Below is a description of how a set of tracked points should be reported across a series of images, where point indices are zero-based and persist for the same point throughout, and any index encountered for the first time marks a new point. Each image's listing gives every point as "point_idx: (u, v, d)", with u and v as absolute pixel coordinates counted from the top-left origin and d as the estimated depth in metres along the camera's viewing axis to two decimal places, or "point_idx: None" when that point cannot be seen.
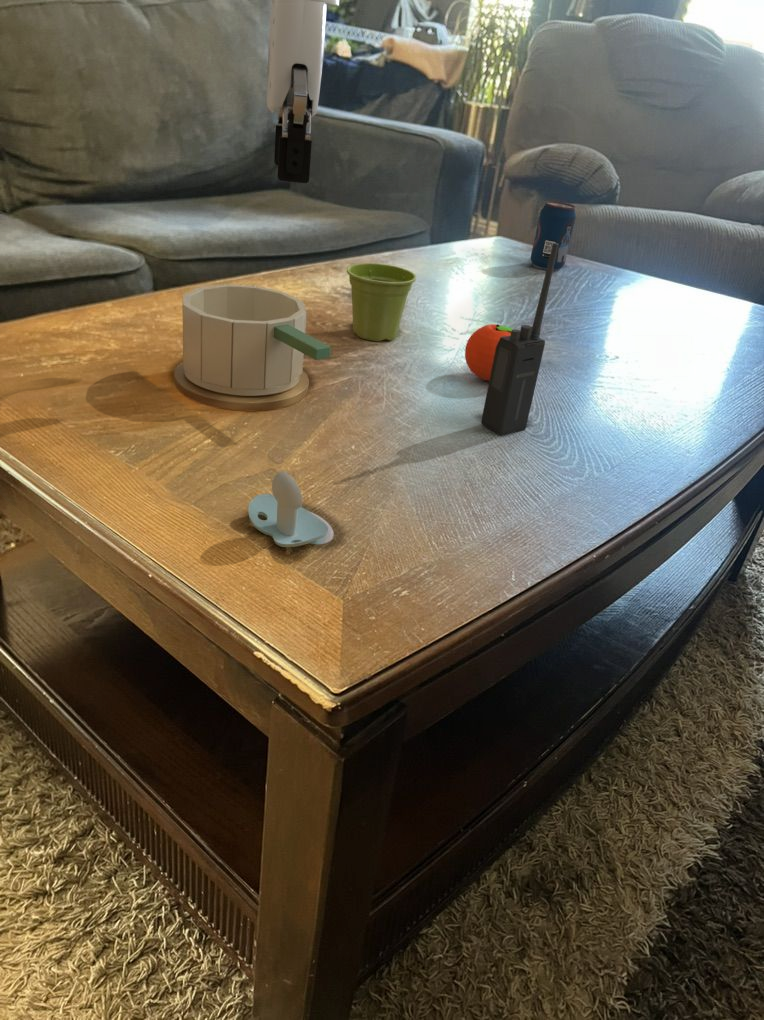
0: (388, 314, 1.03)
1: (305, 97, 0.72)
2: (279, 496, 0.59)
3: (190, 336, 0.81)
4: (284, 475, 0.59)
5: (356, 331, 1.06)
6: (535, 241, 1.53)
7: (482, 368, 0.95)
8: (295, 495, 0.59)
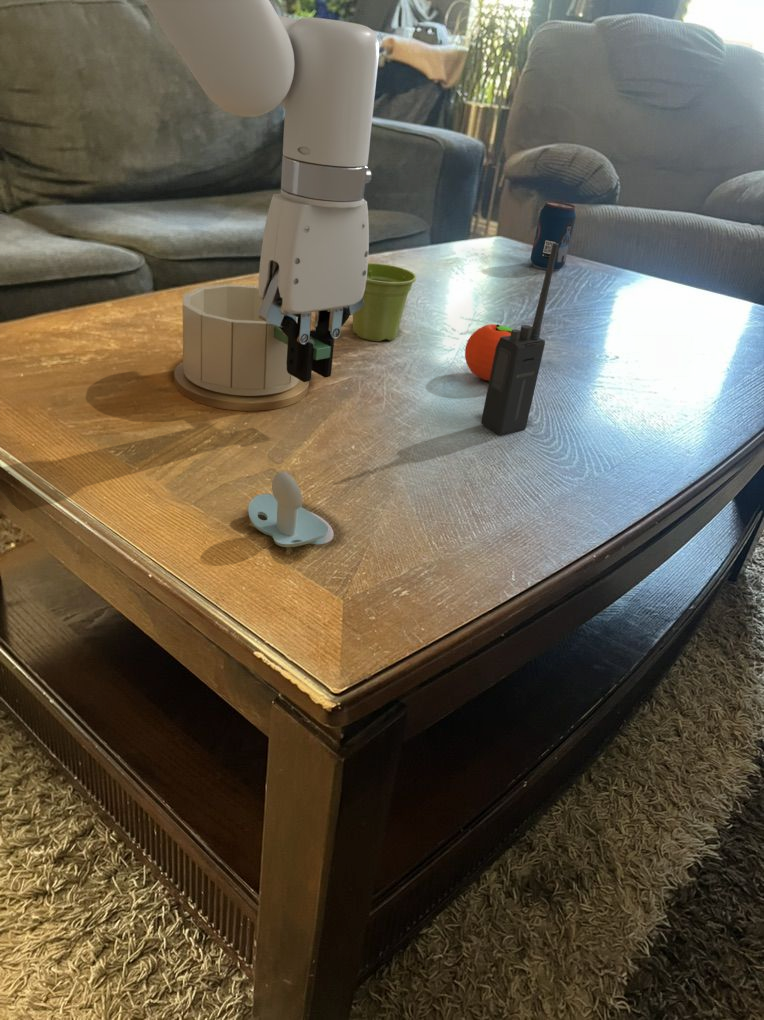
0: (388, 314, 1.03)
1: (266, 321, 0.72)
2: (279, 496, 0.59)
3: (190, 336, 0.81)
4: (284, 475, 0.59)
5: (356, 331, 1.06)
6: (535, 241, 1.53)
7: (482, 368, 0.95)
8: (295, 495, 0.59)
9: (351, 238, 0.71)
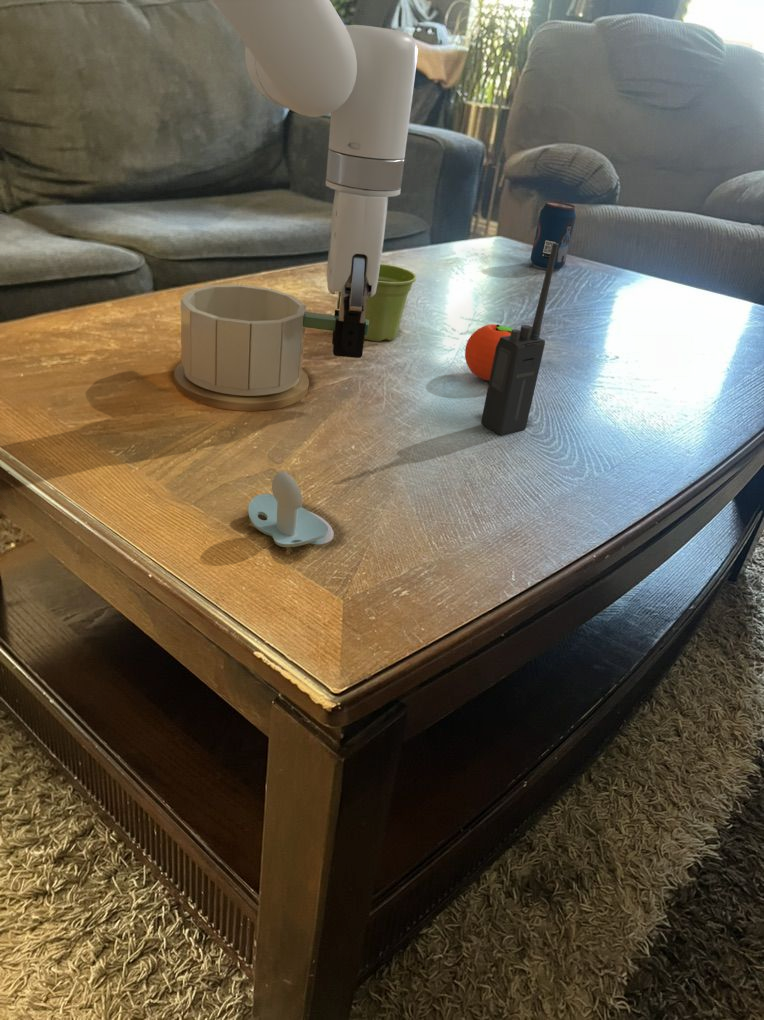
0: (388, 314, 1.03)
1: (360, 310, 0.78)
2: (279, 496, 0.59)
3: (230, 348, 0.80)
4: (284, 475, 0.59)
5: None
6: (535, 241, 1.53)
7: (482, 368, 0.95)
8: (295, 495, 0.59)
9: None
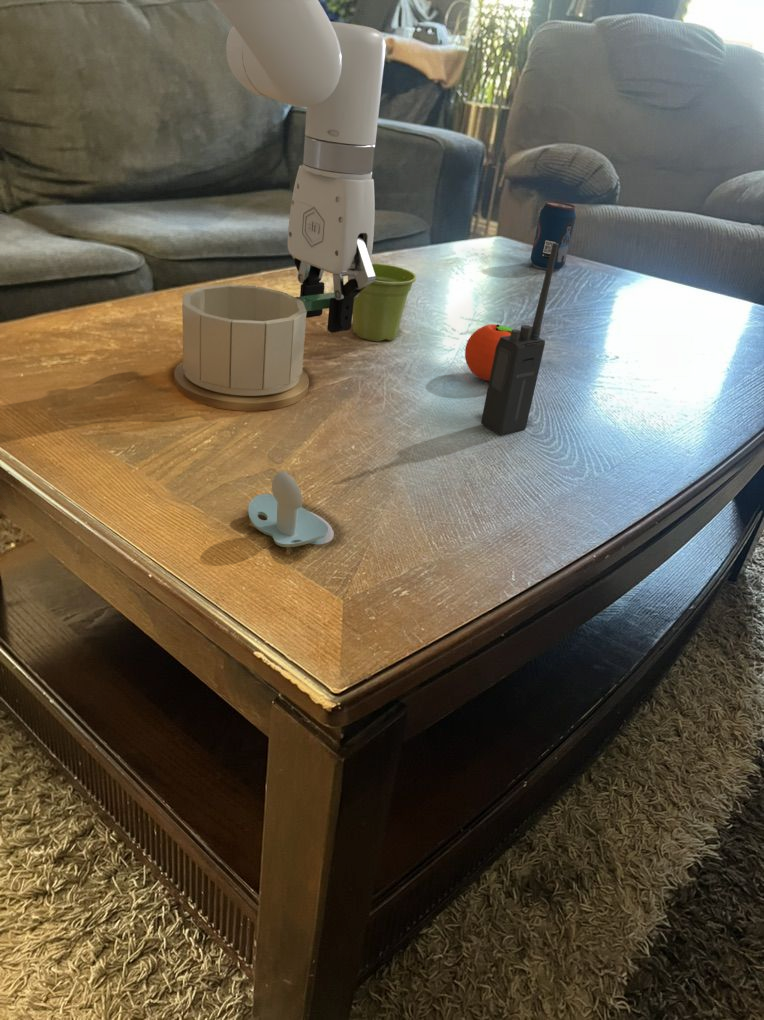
0: (388, 314, 1.03)
1: (374, 280, 0.85)
2: (279, 496, 0.59)
3: (276, 348, 0.81)
4: (284, 475, 0.59)
5: (356, 331, 1.06)
6: (535, 241, 1.53)
7: (482, 368, 0.95)
8: (295, 495, 0.59)
9: None
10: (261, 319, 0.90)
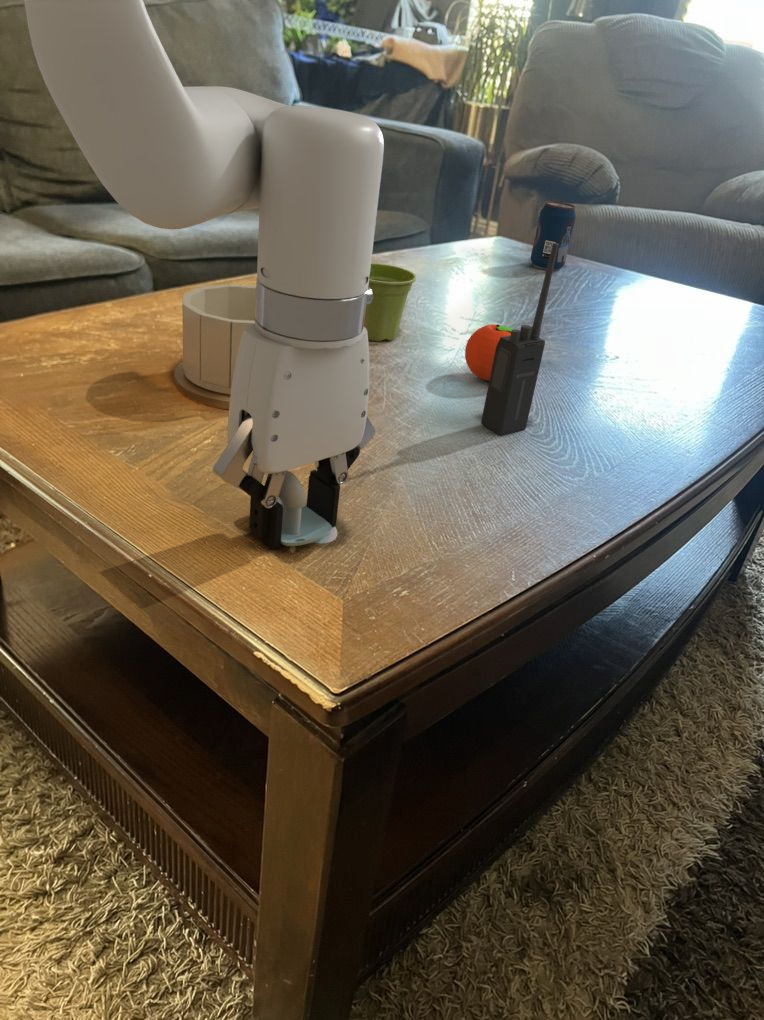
0: (388, 314, 1.03)
1: (221, 478, 0.54)
2: (283, 495, 0.60)
3: None
4: (288, 474, 0.59)
5: None
6: (535, 241, 1.53)
7: (482, 368, 0.95)
8: (299, 494, 0.59)
9: (347, 378, 0.55)
10: None
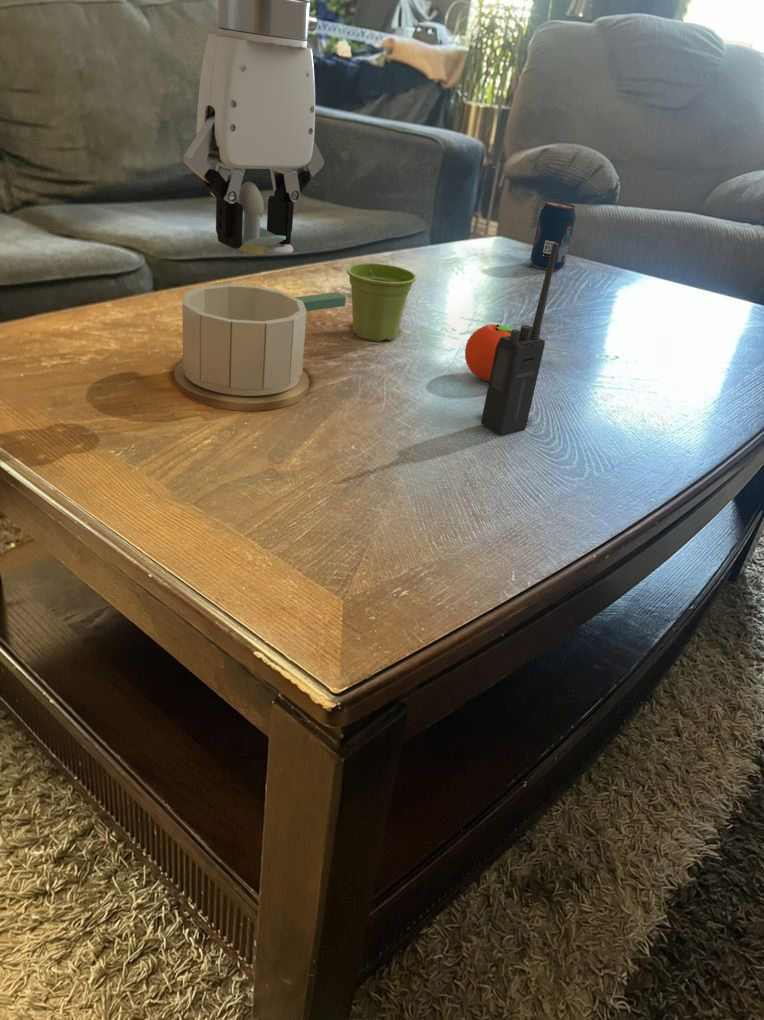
0: (388, 314, 1.03)
1: (189, 163, 0.66)
2: (244, 201, 0.72)
3: (276, 348, 0.81)
4: (248, 183, 0.71)
5: (356, 331, 1.06)
6: (535, 241, 1.53)
7: (482, 368, 0.95)
8: (257, 199, 0.71)
9: (294, 86, 0.67)
10: (261, 319, 0.90)
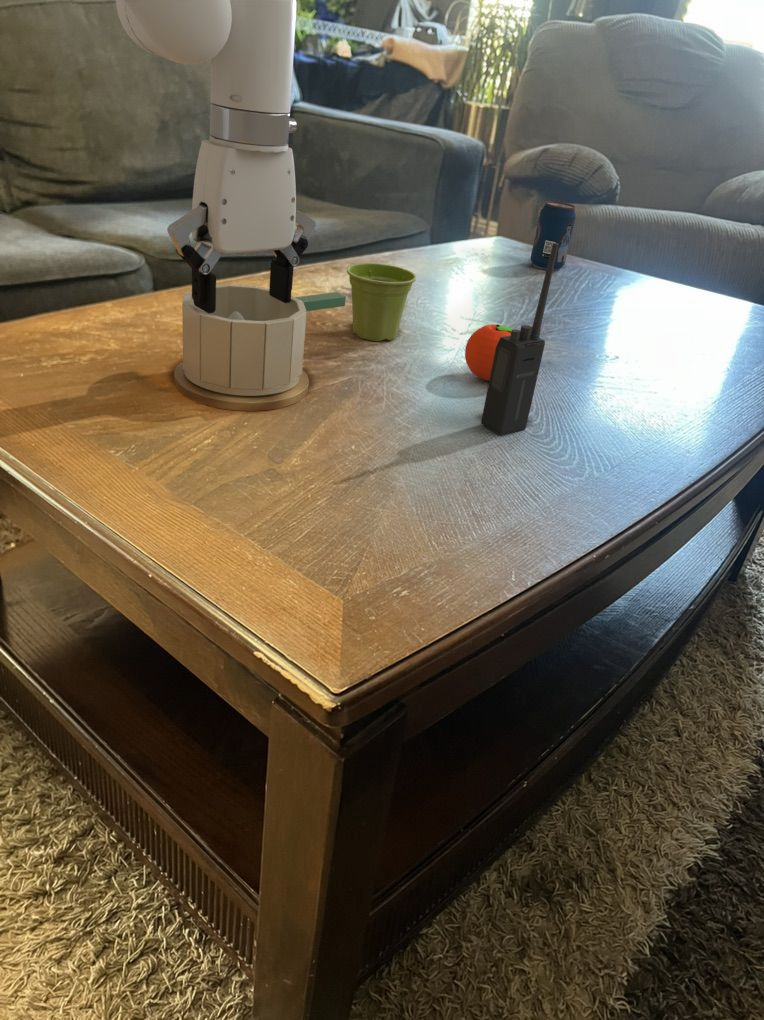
0: (388, 314, 1.03)
1: (173, 232, 0.74)
2: None
3: (276, 348, 0.81)
4: (236, 313, 0.83)
5: (356, 331, 1.06)
6: (535, 241, 1.53)
7: (482, 368, 0.95)
8: None
9: (277, 183, 0.77)
10: (261, 319, 0.90)
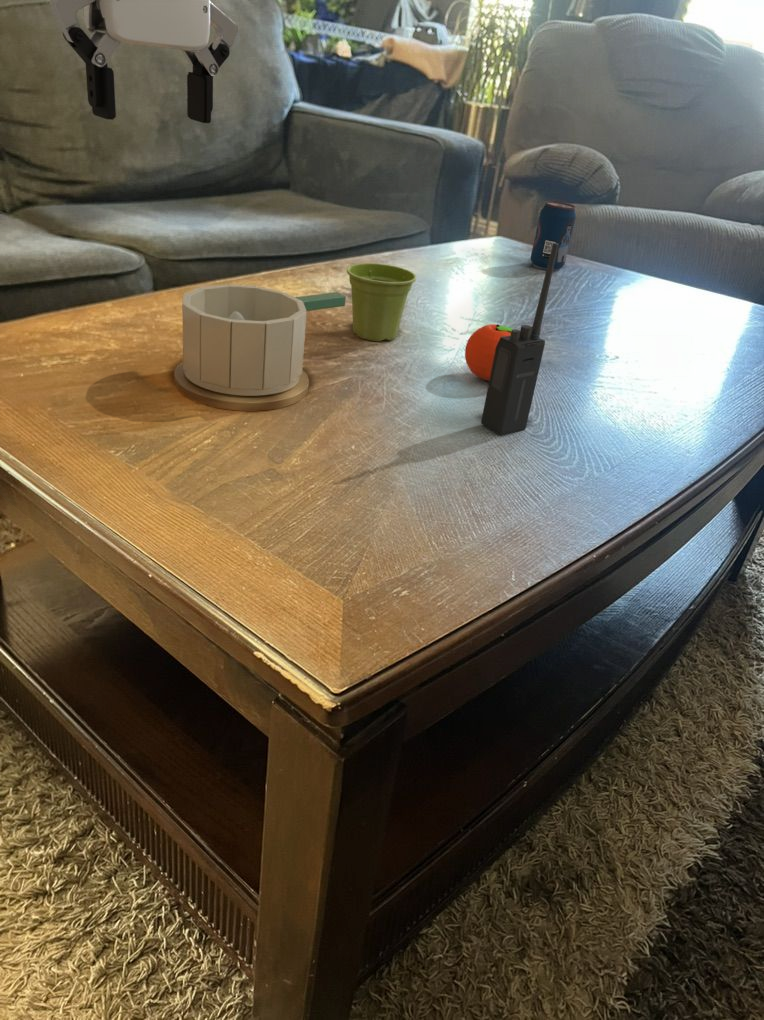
0: (388, 314, 1.03)
1: (55, 5, 0.62)
2: None
3: (276, 348, 0.81)
4: (236, 313, 0.83)
5: (356, 331, 1.06)
6: (535, 241, 1.53)
7: (482, 368, 0.95)
8: None
9: None
10: (261, 319, 0.90)
